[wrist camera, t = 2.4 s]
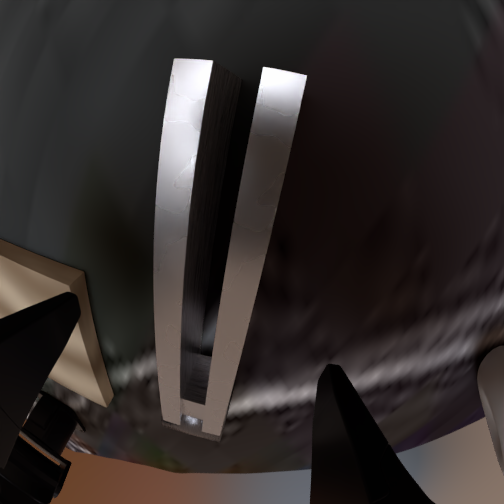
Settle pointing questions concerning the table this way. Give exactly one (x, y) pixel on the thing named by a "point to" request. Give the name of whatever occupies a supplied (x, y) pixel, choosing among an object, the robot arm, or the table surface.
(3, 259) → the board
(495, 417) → the donut
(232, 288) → the tongs
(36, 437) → the robot arm
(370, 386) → the table surface
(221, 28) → the table surface
